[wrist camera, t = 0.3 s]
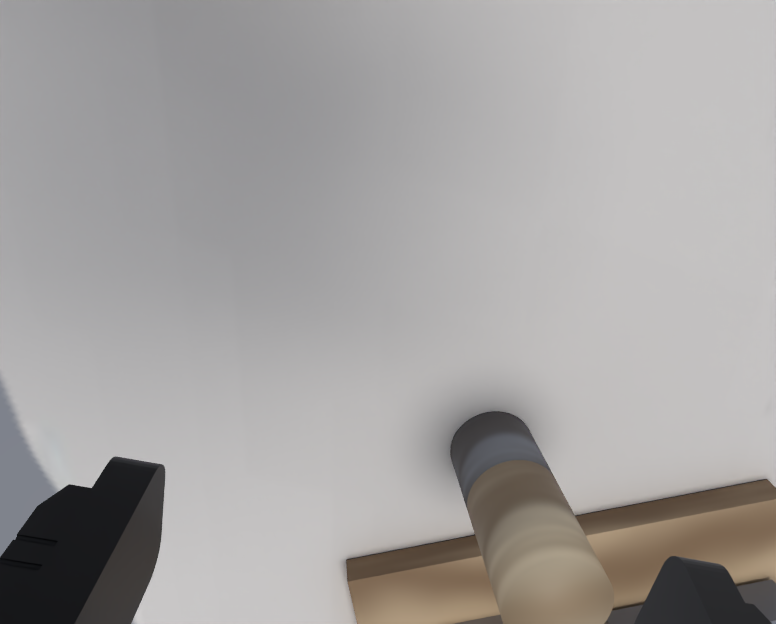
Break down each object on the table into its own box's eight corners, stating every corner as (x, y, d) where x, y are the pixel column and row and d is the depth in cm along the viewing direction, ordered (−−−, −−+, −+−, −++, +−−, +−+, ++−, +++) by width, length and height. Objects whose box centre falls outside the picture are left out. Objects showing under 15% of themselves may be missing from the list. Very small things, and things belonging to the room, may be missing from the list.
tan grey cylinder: (445, 420, 32) (496, 573, 23) (528, 404, 32) (612, 551, 23) (455, 489, 34) (507, 659, 25) (535, 474, 34) (616, 638, 25)
